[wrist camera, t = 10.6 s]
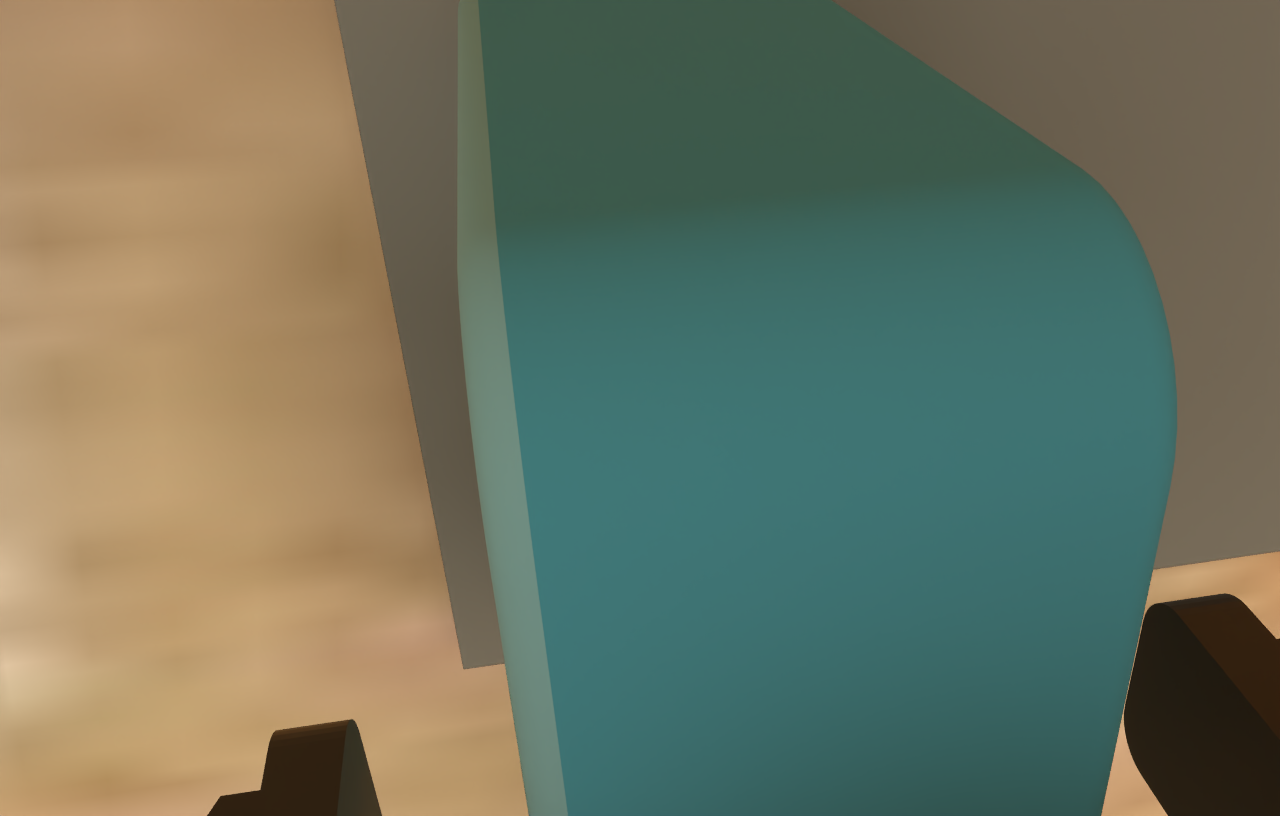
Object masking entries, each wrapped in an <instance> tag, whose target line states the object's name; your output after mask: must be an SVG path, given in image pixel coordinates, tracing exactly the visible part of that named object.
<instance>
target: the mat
mask: <svg viewBox="0 0 1280 816" xmlns="http://www.w3.org/2000/svg"><path fill="white" fill-rule="evenodd" d="M334 1H335V6H336V12H337V17H338V22H339V27H340V32H341V37H342V43H343V48H344V53H345V58H346V63H347V69H348V74H349V79H350V84H351V89H352V94H353V100H354V105H355V110H356V115H357V120H358V125H359V131H360V136H361V141H362V146H363V151H364V157H365V162H366V167H367V172H368V177H369V182H370V188H371V193H372V198H373V203H374V208H375V213H376V219H377V224H378V229H379V234H380V239H381V245H382V250H383V255H384V260H385V265H386V270H387V276H388V281H389V286H390V291H391V296H392V301H393V307H394V312H395V317H396V322H397V327H398V333H399V338H400V343H401V348H402V353H403V358H404V364H405V369H406V374H407V379H408V384H409V389H410V395H411V400H412V405H413V410H414V415H415V421H416V426H417V431H418V436H419V441H420V446H421V452H422V457H423V462H424V467H425V472H426V477H427V483H428V488H429V493H430V498H431V503H432V508H433V514H434V519H435V524H436V529H437V534H438V540H439V545H440V550H441V555H442V560H443V565H444V571H445V576H446V581H447V586H448V591H449V596H450V602H451V607H452V612H453V617H454V622H455V628H456V633H457V638H458V643H459V648H460V653H461V659H462V664H463V669H470V668H477V667H484V666H491V665H497V664H504V663H505V661H504V655H503V649H502V642H501V636H500V630H499V623H498V617H497V611H496V604H495V598H494V592H493V585H492V579H491V573H490V566H489V560H488V553H487V547H486V540H485V533H484V526H483V519H482V512H481V505H480V497H479V490H478V482H477V475H476V467H475V459H474V451H473V442H472V434H471V425H470V416H469V407H468V398H467V388H466V378H465V368H464V358H463V347H462V336H461V323H460V311H459V295H458V275H457V158H458V5H459V2H460V0H334ZM832 1H833V2H835V3H836V4H838V5H839V6H841V7H842V8H844V9H845V10H847V11H848V12H850V13H851V14H853V15H854V16H856V17H857V18H859V19H860V20H862V21H863V22H865V23H866V24H868V25H869V26H871V27H872V28H874V29H875V30H877V31H878V32H880V33H881V34H882V35H884V36H885V37H887V38H888V39H890V40H891V41H893V42H894V43H896V44H897V45H899V46H900V47H902V48H903V49H905V50H906V51H908V52H909V53H911V54H912V55H914V56H915V57H917V58H918V59H920V60H921V61H923V62H924V63H926V64H927V65H929V66H930V67H932V68H933V69H935V70H936V71H938V72H939V73H940V74H942V75H943V76H945V77H946V78H948V79H949V80H951V81H952V82H954V83H955V84H957V85H958V86H960V87H961V88H963V89H964V90H966V91H967V92H969V93H970V94H972V95H973V96H975V97H976V98H978V99H979V100H981V101H982V102H984V103H985V104H987V105H988V106H990V107H991V108H993V109H994V110H996V111H997V112H998V113H1000V114H1001V115H1003V116H1004V117H1006V118H1007V119H1009V120H1010V121H1012V122H1013V123H1015V124H1016V125H1018V126H1019V127H1021V128H1022V129H1024V130H1025V131H1027V132H1028V133H1030V134H1031V135H1033V136H1034V137H1036V138H1037V139H1039V140H1040V141H1042V142H1043V143H1045V144H1046V145H1048V146H1049V147H1051V148H1052V149H1054V150H1055V151H1056V152H1058V153H1059V154H1061V155H1062V156H1064V157H1065V158H1067V159H1068V160H1070V161H1071V162H1073V163H1074V164H1076V165H1077V166H1079V167H1080V168H1082V169H1083V170H1084V171H1086V172H1087V173H1088V174H1089V175H1090V176H1092V177H1093V178H1094V179H1095V180H1097V181H1098V182H1099V183H1100V184H1101V185H1102V186H1103V187H1104V189H1105V190H1106V191H1107V192H1108V193H1109V194H1110V195H1111V197H1112V198H1113V199H1114V200H1115V201H1116V203H1117V204H1118V205H1119V207H1120V208H1121V210H1122V211H1123V213H1124V214H1125V216H1126V217H1127V219H1128V220H1129V222H1130V224H1131V226H1132V228H1133V229H1134V231H1135V233H1136V235H1137V237H1138V239H1139V241H1140V243H1141V245H1142V247H1143V249H1144V252H1145V254H1146V257H1147V259H1148V262H1149V264H1150V266H1151V269H1152V271H1153V274H1154V277H1155V280H1156V283H1157V286H1158V290H1159V293H1160V296H1161V299H1162V302H1163V306H1164V311H1165V315H1166V319H1167V324H1168V328H1169V332H1170V338H1171V345H1172V351H1173V358H1174V364H1175V376H1176V389H1177V439H1176V453H1175V461H1174V468H1173V474H1172V480H1171V486H1170V491H1169V496H1168V501H1167V505H1166V510H1165V515H1164V520H1163V524H1162V529H1161V534H1160V539H1159V543H1158V548H1157V553H1156V558H1155V562H1154V567H1153V569H1160V568H1167V567H1174V566H1181V565H1188V564H1195V563H1202V562H1209V561H1216V560H1223V559H1229V558H1236V557H1243V556H1250V555H1257V554H1264V553H1271V552H1278V551H1280V0H832Z"/></svg>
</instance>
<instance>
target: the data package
mask: <svg viewBox="0 0 1280 816" xmlns="http://www.w3.org/2000/svg"><path fill="white" fill-rule="evenodd" d="M457 275H458V295H459V311H460V323H461V336H462V347H463V358H464V368H465V378H466V388H467V398H468V407H469V416H470V425H471V434H472V442H473V451H474V459H475V467H476V475H477V482H478V490H479V497H480V505H481V512H482V519H483V526H484V533H485V540H486V547H487V553H488V560H489V566H490V573H491V579H492V585H493V592H494V598H495V604H496V611H497V617H498V623H499V630H500V636H501V642H502V649H503V655H504V661H505V668H506V674H507V680H508V687H509V693H510V699H511V706H512V712H513V718H514V725H515V731H516V737H517V743H518V750H519V756H520V762H521V769H522V775H523V781H524V788H525V794H526V800H527V807H528V813H529V816H1101V813H1102V809H1103V804H1104V799H1105V794H1106V790H1107V785H1108V780H1109V775H1110V771H1111V766H1112V761H1113V756H1114V752H1115V747H1116V742H1117V737H1118V733H1119V728H1120V723H1121V719H1122V714H1123V709H1124V704H1125V700H1126V695H1127V690H1128V685H1129V681H1130V676H1131V671H1132V666H1133V662H1134V657H1135V652H1136V648H1137V643H1138V638H1139V633H1140V629H1141V624H1142V619H1143V614H1144V610H1145V605H1146V600H1147V595H1148V591H1149V586H1150V581H1151V576H1152V572H1153V567H1154V562H1155V558H1156V553H1157V548H1158V543H1159V539H1160V534H1161V529H1162V524H1163V520H1164V515H1165V510H1166V505H1167V501H1168V496H1169V491H1170V486H1171V480H1172V474H1173V468H1174V461H1175V453H1176V439H1177V389H1176V376H1175V364H1174V358H1173V351H1172V345H1171V338H1170V332H1169V328H1168V324H1167V319H1166V315H1165V311H1164V306H1163V302H1162V299H1161V296H1160V293H1159V290H1158V286H1157V283H1156V280H1155V277H1154V274H1153V271H1152V269H1151V266H1150V264H1149V262H1148V259H1147V257H1146V254H1145V252H1144V249H1143V247H1142V245H1141V243H1140V241H1139V239H1138V237H1137V235H1136V233H1135V231H1134V229H1133V228H1132V226H1131V224H1130V222H1129V220H1128V219H1127V217H1126V216H1125V214H1124V213H1123V211H1122V210H1121V208H1120V207H1119V205H1118V204H1117V203H1116V201H1115V200H1114V199H1113V198H1112V197H1111V195H1110V194H1109V193H1108V192H1107V191H1106V190H1105V189H1104V187H1103V186H1102V185H1101V184H1100V183H1099V182H1098V181H1097V180H1095V179H1094V178H1093V177H1092V176H1090V175H1089V174H1088V173H1087V172H1086V171H1084V170H1083V169H1082V168H1080V167H1079V166H1077V165H1076V164H1074V163H1073V162H1071V161H1070V160H1068V159H1067V158H1065V157H1064V156H1062V155H1061V154H1059V153H1058V152H1056V151H1055V150H1054V149H1052V148H1051V147H1049V146H1048V145H1046V144H1045V143H1043V142H1042V141H1040V140H1039V139H1037V138H1036V137H1034V136H1033V135H1031V134H1030V133H1028V132H1027V131H1025V130H1024V129H1022V128H1021V127H1019V126H1018V125H1016V124H1015V123H1013V122H1012V121H1010V120H1009V119H1007V118H1006V117H1004V116H1003V115H1001V114H1000V113H998V112H997V111H996V110H994V109H993V108H991V107H990V106H988V105H987V104H985V103H984V102H982V101H981V100H979V99H978V98H976V97H975V96H973V95H972V94H970V93H969V92H967V91H966V90H964V89H963V88H961V87H960V86H958V85H957V84H955V83H954V82H952V81H951V80H949V79H948V78H946V77H945V76H943V75H942V74H940V73H939V72H938V71H936V70H935V69H933V68H932V67H930V66H929V65H927V64H926V63H924V62H923V61H921V60H920V59H918V58H917V57H915V56H914V55H912V54H911V53H909V52H908V51H906V50H905V49H903V48H902V47H900V46H899V45H897V44H896V43H894V42H893V41H891V40H890V39H888V38H887V37H885V36H884V35H882V34H881V33H880V32H878V31H877V30H875V29H874V28H872V27H871V26H869V25H868V24H866V23H865V22H863V21H862V20H860V19H859V18H857V17H856V16H854V15H853V14H851V13H850V12H848V11H847V10H845V9H844V8H842V7H841V6H839V5H838V4H836V3H835V2H833V1H832V0H460V2H459V5H458V158H457Z"/></svg>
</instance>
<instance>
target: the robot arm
mask: <svg viewBox="0 0 1280 816" xmlns="http://www.w3.org/2000/svg"><path fill="white" fill-rule="evenodd" d="M1124 727H1125V734H1126V739H1127V743H1128V746H1129V749H1130V753H1131V755H1132V758H1133V760H1134V762H1135V764H1136V766H1137V768H1138V770H1139V772H1140V773H1141V775H1142V777H1143V778H1144V780H1145V781H1146V783H1147V784H1148V786H1149V787H1150V789H1151V790H1152V792H1153V793H1154V795H1155V796H1156V798H1157V800H1158V801H1159V803H1160V804H1161V806H1162V807H1163V809H1164V810H1165V812H1166V813H1167V815H1168V816H1280V639H1276V638H1275V637H1274V636H1273V635H1272V634H1271V633H1270V631H1269V630H1268V629H1267V628H1266V627H1265V626H1264V625H1263V624H1262V623H1261V621H1260V620H1259V619H1258V618H1257V617H1256V616H1255V615H1254V614H1253V613H1252V611H1251V610H1250V609H1249V608H1248V607H1247V606H1246V605H1245V604H1244V603H1243V602H1242V601H1241V600H1240V599H1238V598H1237V597H1235V596H1233V595H1230V594H1218V595H1211V596H1204V597H1198V598H1191V599H1184V600H1177V601H1170V602H1164V603H1157V604H1154V605H1152V606H1151V607H1150V608H1149V609H1148V610H1147V612H1146V614H1145V617H1144V620H1143V625H1142V630H1141V634H1140V639H1139V643H1138V648H1137V653H1136V657H1135V662H1134V667H1133V671H1132V676H1131V680H1130V685H1129V690H1128V694H1127V699H1126V704H1125V709H1124ZM207 816H382V814H381V810H380V807H379V803H378V799H377V795H376V792H375V788H374V784H373V781H372V777H371V773H370V770H369V766H368V762H367V758H366V755H365V751H364V747H363V744H362V740H361V736H360V733H359V730H358V727H357V724H356V723H355V721H354V720H353V719H351V720H344V721H337V722H331V723H324V724H317V725H310V726H303V727H297V728H290V729H283V730H276V731H275V732H274V733H273V735H272V737H271V739H270V743H269V747H268V752H267V758H266V763H265V769H264V774H263V779H262V785H261V790H258V791H251V792H245V793H238V794H232V795H225V796H220V798H219V799H218V801H217V802H216V803H215V805H214V806H213V808H212V809H211V811H210V812H209V814H208V815H207Z"/></svg>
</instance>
